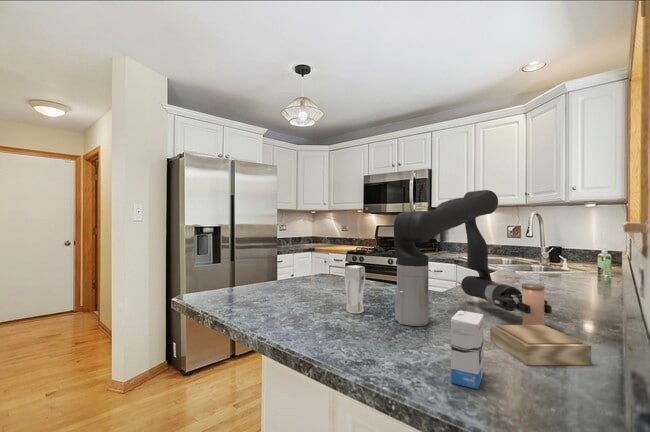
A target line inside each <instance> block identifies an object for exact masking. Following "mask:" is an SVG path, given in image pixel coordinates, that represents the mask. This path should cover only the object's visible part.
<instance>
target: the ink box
mask: <svg viewBox="0 0 650 432" xmlns="http://www.w3.org/2000/svg"><path fill="white" fill-rule="evenodd" d="M450 341H451V343H450V358H451V359H450V383H451V384H454V385H458V386H463V387H466V388H470V389H474V390H479V388H480V385H481V382H482V379H483V374H484V314H483V313H479V312H478V313H477V312H473V311H466V310H458V311H456V313H455V314H454V315H453V316H452V317H451V319H450Z"/></svg>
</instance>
